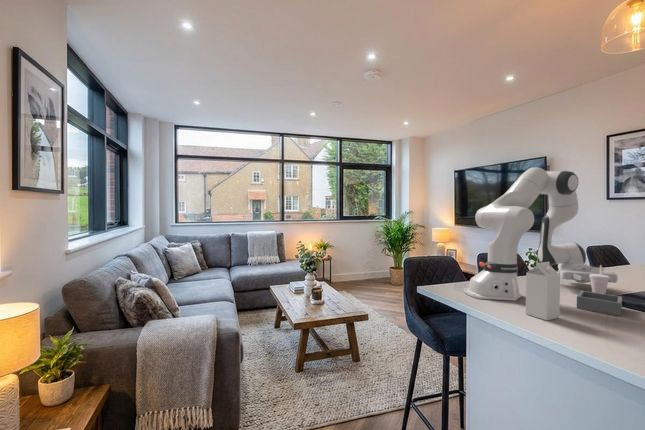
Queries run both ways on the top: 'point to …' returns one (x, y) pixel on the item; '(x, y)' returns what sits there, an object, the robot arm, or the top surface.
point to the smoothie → (599, 282)
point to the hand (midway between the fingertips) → (595, 279)
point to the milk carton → (543, 292)
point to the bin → (599, 302)
